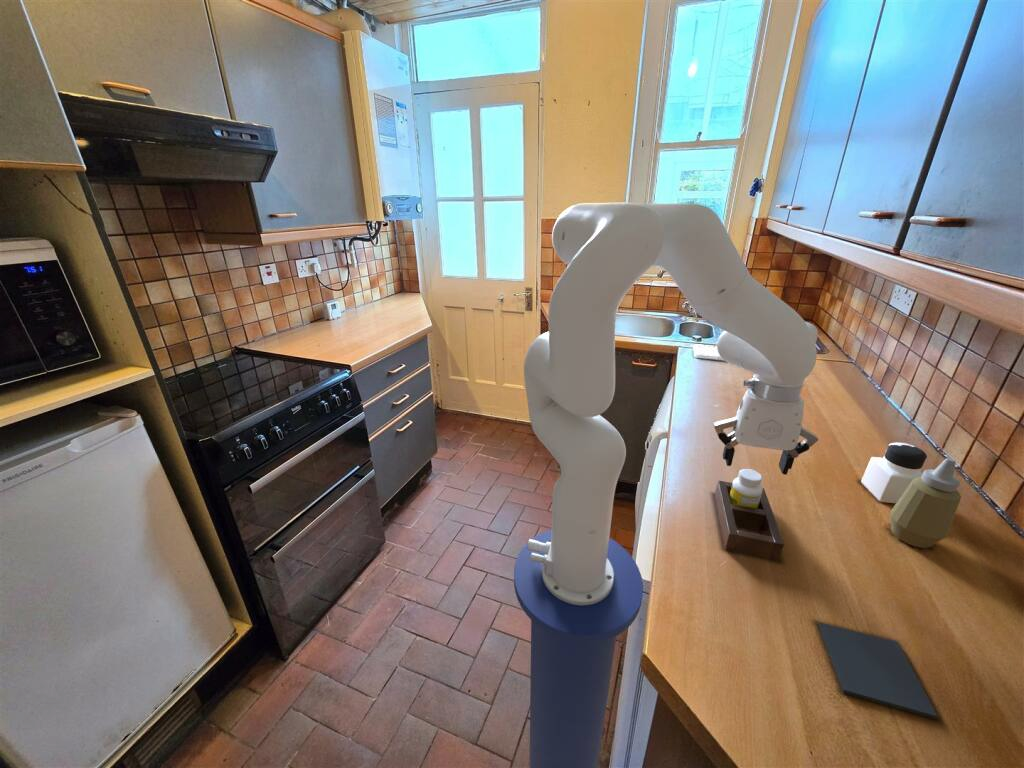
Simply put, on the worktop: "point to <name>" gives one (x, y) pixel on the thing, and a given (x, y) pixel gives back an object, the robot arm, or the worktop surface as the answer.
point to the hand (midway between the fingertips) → (754, 466)
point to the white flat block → (706, 352)
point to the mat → (875, 670)
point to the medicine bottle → (893, 471)
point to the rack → (748, 525)
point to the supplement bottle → (746, 489)
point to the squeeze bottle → (927, 507)
